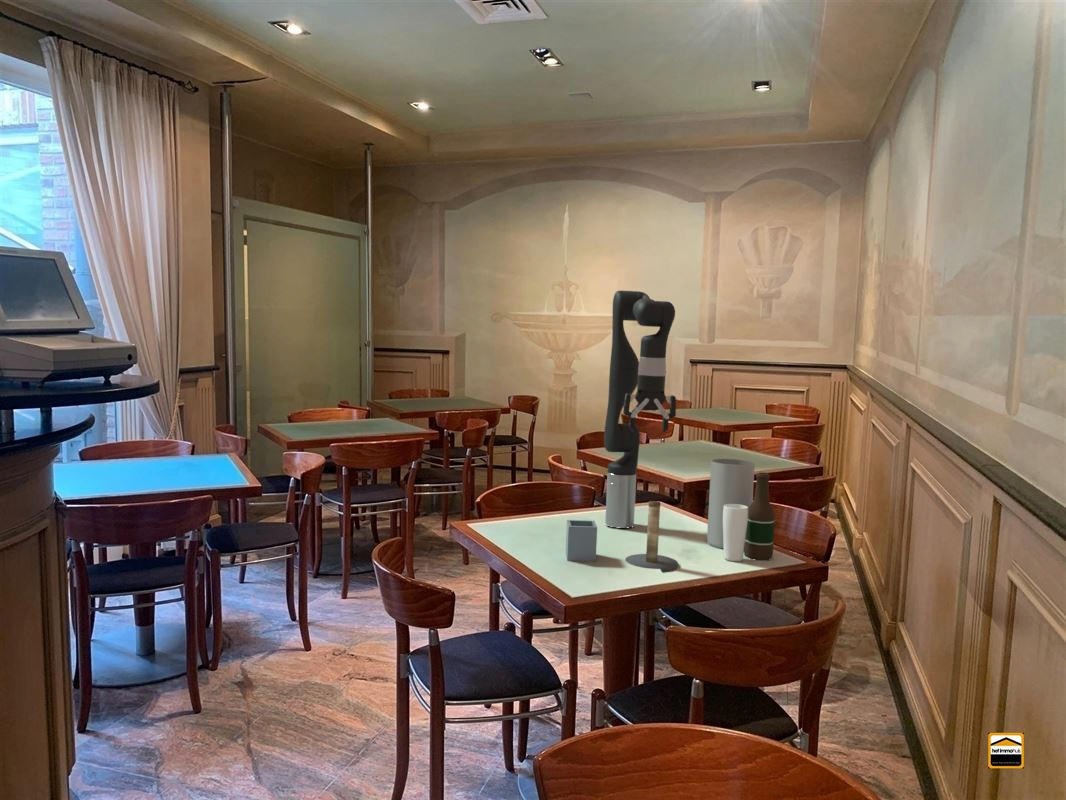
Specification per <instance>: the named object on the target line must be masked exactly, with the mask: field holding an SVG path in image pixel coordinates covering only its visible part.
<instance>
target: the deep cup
mask: <svg viewBox="0 0 1066 800" xmlns="http://www.w3.org/2000/svg"><path fill="white" fill-rule="evenodd" d="M595 521H596V520H584V519H583V520H580V519H566V529H565V530H566V531H565V532H566V535H565V557H566V560H567V562H597V543H598V542H597V540H598V539H597V538H598V526H597V524H596V522H595Z"/></svg>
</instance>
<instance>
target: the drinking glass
mask: <svg viewBox="0 0 1066 800" xmlns="http://www.w3.org/2000/svg"><path fill="white" fill-rule="evenodd" d="M747 524H748V507H747V506H744V505H739V504H725V505H724V508H723V547H724V549H723V558H724V560H725V561H728V560H729V562H735V561H737V562H741V561H743V559H744V545H745V538H746V531H747Z"/></svg>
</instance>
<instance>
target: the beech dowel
mask: <svg viewBox="0 0 1066 800" xmlns="http://www.w3.org/2000/svg"><path fill="white" fill-rule="evenodd" d="M660 514H661V501H657V500H649V501H648V513H647V515H648V516H647V529H646V530H647V531H646V532H647V533H646V534H647V535H646V536H647V537H646V553H645V554H646V561H647V562H650V563H656V562H657V558H658V555H659V554H658V553H659V552H658V551H659V533H660V532H659V531H660Z"/></svg>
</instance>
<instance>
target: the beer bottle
mask: <svg viewBox="0 0 1066 800" xmlns="http://www.w3.org/2000/svg"><path fill="white" fill-rule="evenodd" d="M755 478H756V483H755V490H754V496H753V502H752V504H751V505H750V506H749V508H748V524H747V531H746V538H745V547H744V552H743V556H744V557H746V558H747V557H748V558H747V559H749V558H750V559H749V560H753V559H755V560H754V561H758V560H768V561H770V560H771V558H773V554H774V543H775V542H774V541H775V539H774V538H775V523H776V516H775V515H776V514H775V510H774V507H773V506H772V504H771V502H770V494H769V493H770V491H769V489H770V488H769V487H770V485H769V483H770V482H769V481H770V478H771V475H770V474H769V473H768V472H757V473H756V474H755ZM769 559H770V560H769Z"/></svg>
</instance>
